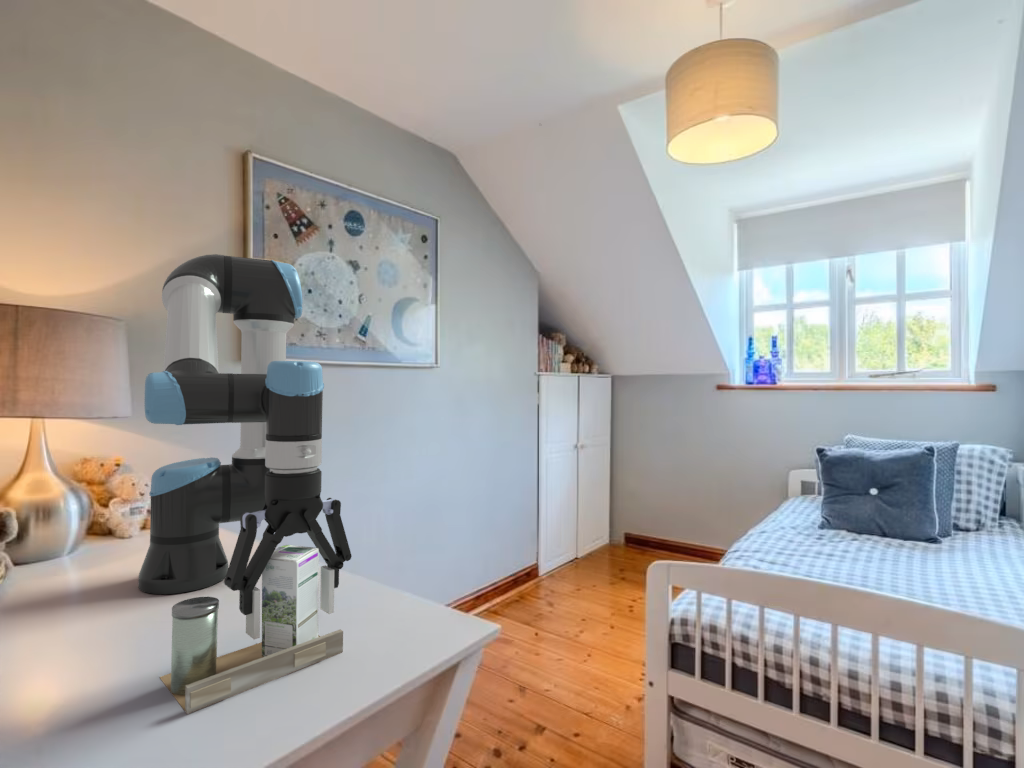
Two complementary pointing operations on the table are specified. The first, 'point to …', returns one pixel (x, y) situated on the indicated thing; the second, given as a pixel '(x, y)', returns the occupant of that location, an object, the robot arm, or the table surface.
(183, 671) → the sage tin
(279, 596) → the syrup box
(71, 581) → the table surface
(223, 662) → the shelf board
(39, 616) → the table surface
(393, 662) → the table surface
